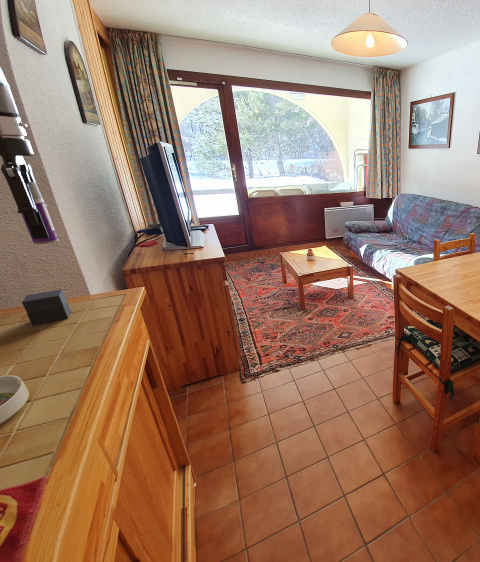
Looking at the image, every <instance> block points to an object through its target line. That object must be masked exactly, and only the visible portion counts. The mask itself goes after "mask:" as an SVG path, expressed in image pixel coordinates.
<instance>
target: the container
mask: <svg viewBox="0 0 480 562" xmlns="http://www.w3.org/2000/svg"><path fill="white" fill-rule="evenodd" d="M28 185H29V187H30V190H31V193H32V196H33V199H34V202H35V205H36V208H37V210H38V211H37V212H40V215H41V217H42V220H43V222H44V225H45V228H46V230H47V233H48V235H49V238H40V239H33V236H32V234H31V231H30V229H29V226H28V224H27V222H26V219H25V217H24V214H23V213H20V214H21V216H22V219H23V221H24V224H25V226H26V229H27V232H28V233H29V236H30V238H31V240H32V243H33V244H34V245H46V244H53V243H56V242H59V238H58V235H57V232H56V230H55V228H54V224H53V221H52V219H51V217H50V214H49V211H48V209H47V208H46V206H45V205H46V203H45V201H44V199H43V196H42V194H41V191H40V189H39V187H38V184H37V182H36V181H35V182H31V183H29V184H28Z"/></svg>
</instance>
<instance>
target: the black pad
mask: <svg viewBox="0 0 480 562" xmlns="http://www.w3.org/2000/svg"><path fill="white" fill-rule="evenodd" d="M70 314H71V309H70V306H69V303H68V300H67V301H66V303H65V306H64V307H62V308H57V309H51V310H46V311H41V312H36V313H30V314H27V313H26V315H27V318H28V319H29V322H30V324H31V325H32V327H33V326H38V325H43V324H48V323H52V322H58V321H62V320H68V319H69V317H70Z"/></svg>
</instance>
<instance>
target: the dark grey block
mask: <svg viewBox="0 0 480 562" xmlns="http://www.w3.org/2000/svg"><path fill="white" fill-rule="evenodd" d="M66 301H67V302H68V300H67V298H66V295H65V293H64V290H63V289H62V288H61V289H55V290H50V291H44V292H37V293H32V294H26V296H25V297H24V298H23V300H22V301H21V304H22V305H23V308H24V310H25V312H26V315H27V314H30V313H36V312H41V311H46V310H51V309H57V308H62V307H64V306H65V303H66Z"/></svg>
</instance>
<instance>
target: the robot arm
mask: <svg viewBox="0 0 480 562" xmlns="http://www.w3.org/2000/svg"><path fill="white" fill-rule="evenodd" d="M27 127H28V125H27V124H26V122H22V119H21V115H20V112H19V111H18V107H17V105H16V102H15V99H14V97H13V94H12V91H11V86H10V84H9V83H8V81H7V78H6V76H5V74H4V71H3V69H2V67H1V66H0V157H1V158H2V163H3V164H1V167H0V171H1V173H2V175H3V176H4V178H5V181H6V183H7V185H8V187H9V190H10V192H11V194H12V197H13V200H14V202H15V204H16V206H17V210H16V212H17V213H18V214H21V213H23V214H24V217H25V219H26V222H27V224H28V226H29V229H30V231H31V234H32V236H33V239H40V238H49V235H48V233H47V230H46V228H45V225H44V222H43V220H42V217H41V215H40V212H37V211H38V210H37V208H36V205H35V202H34V199H33V196H32V193H31V190H30V187H29V185H28V184H29V183H31V182H36V179H35V177H34V174H33V171H32V166H31V165H30V164H29V163H26V161H25V160H24V157H33V156H34V151H33V148H32V145H31V142H30V140H28V139H25V137H27V132H26V130H25V128H27ZM45 206H46V209H47V208H48V205H47V204H46V203H45Z"/></svg>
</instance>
